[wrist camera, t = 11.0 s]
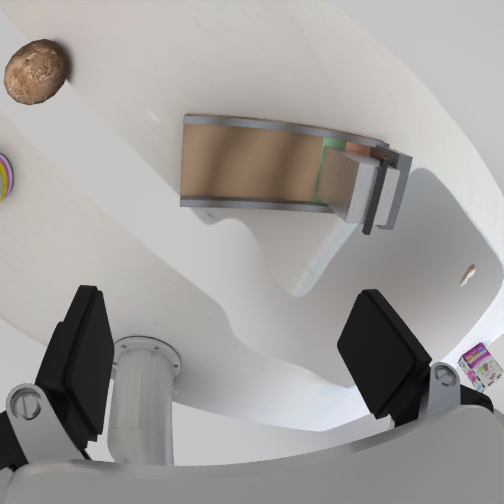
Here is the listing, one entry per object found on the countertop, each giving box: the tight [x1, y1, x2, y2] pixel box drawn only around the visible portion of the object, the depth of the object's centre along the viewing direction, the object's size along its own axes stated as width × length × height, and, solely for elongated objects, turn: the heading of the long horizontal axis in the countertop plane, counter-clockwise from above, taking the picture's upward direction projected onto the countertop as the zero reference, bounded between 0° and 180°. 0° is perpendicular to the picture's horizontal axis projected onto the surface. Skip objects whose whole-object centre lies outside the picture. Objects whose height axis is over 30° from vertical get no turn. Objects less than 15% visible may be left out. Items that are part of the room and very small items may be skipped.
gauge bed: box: [180, 114, 389, 213], centre depth 31 cm, size 24×10×2 cm, turn 83°
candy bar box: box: [458, 343, 504, 393], centre depth 68 cm, size 11×5×16 cm, turn 103°
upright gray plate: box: [369, 144, 413, 230], centre depth 31 cm, size 2×9×6 cm, turn 173°
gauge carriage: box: [316, 146, 400, 235], centre depth 29 cm, size 5×8×9 cm, turn 173°
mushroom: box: [4, 39, 68, 105], centre depth 19 cm, size 8×8×6 cm
